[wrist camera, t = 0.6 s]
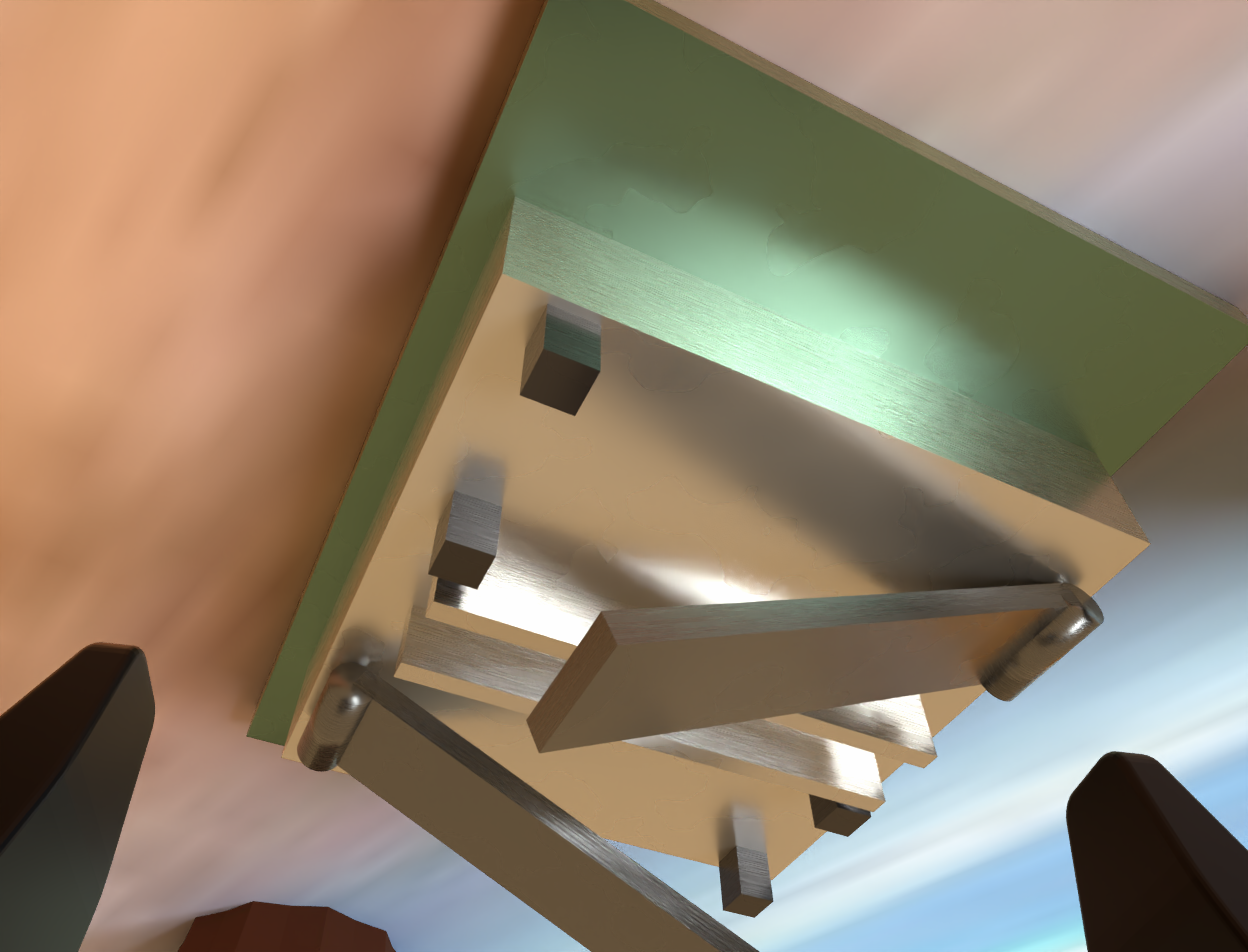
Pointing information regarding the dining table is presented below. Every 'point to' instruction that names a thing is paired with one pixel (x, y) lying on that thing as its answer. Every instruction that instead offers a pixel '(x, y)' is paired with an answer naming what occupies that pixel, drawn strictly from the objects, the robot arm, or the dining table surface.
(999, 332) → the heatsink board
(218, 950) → the muffin
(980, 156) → the dining table surface
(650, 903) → the strap
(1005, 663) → the strap
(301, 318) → the dining table surface
